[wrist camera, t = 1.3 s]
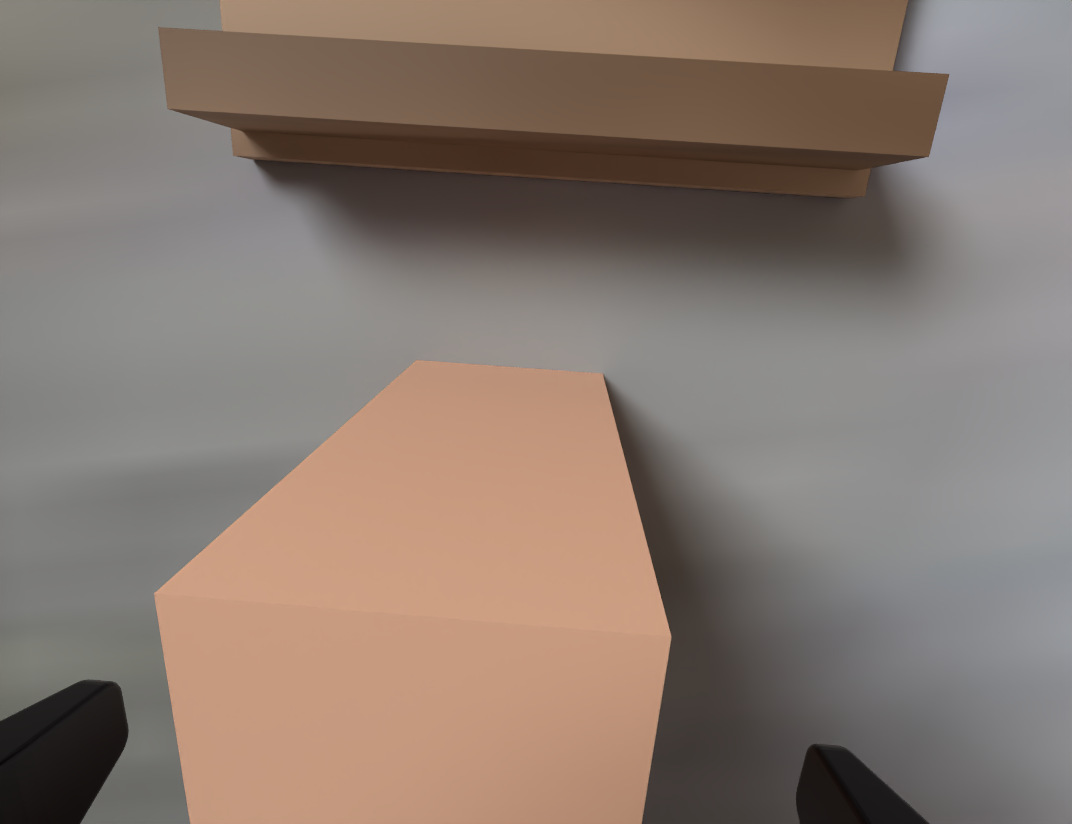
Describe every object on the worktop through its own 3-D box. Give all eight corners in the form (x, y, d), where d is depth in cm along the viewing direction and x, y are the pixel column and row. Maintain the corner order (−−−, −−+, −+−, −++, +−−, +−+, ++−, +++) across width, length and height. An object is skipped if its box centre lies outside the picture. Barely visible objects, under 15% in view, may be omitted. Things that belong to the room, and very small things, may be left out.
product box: (573, 657, 14) (584, 1174, 6) (408, 643, 14) (222, 1136, 6) (602, 373, 12) (672, 637, 4) (406, 359, 12) (127, 591, 4)
